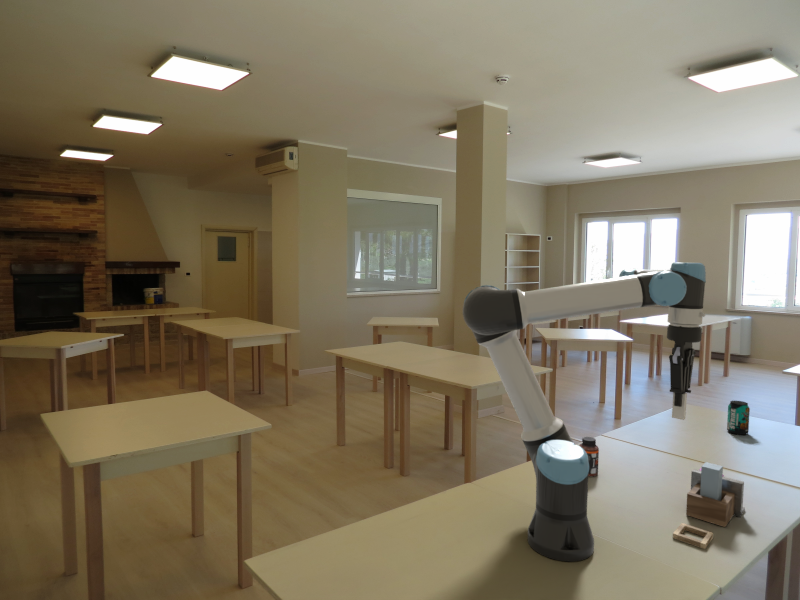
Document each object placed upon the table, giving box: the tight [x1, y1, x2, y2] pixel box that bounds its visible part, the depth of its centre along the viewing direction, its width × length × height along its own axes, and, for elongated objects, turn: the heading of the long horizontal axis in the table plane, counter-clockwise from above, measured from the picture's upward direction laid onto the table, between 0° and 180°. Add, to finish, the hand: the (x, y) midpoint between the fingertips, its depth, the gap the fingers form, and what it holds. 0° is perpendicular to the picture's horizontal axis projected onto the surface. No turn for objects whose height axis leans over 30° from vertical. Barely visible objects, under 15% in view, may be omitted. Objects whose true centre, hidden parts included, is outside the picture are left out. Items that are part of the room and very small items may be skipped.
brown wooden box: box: [685, 483, 735, 528], centre depth 138 cm, size 9×9×6 cm
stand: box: [672, 522, 714, 550], centre depth 127 cm, size 7×7×1 cm
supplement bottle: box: [578, 436, 600, 477], centre depth 164 cm, size 6×6×11 cm
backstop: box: [690, 468, 746, 518], centre depth 143 cm, size 5×12×9 cm, turn 46°
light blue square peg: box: [700, 461, 724, 501], centre depth 137 cm, size 4×4×12 cm
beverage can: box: [726, 400, 751, 436], centre depth 203 cm, size 7×7×12 cm
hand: (678, 418), depth 131 cm, fingers closed
